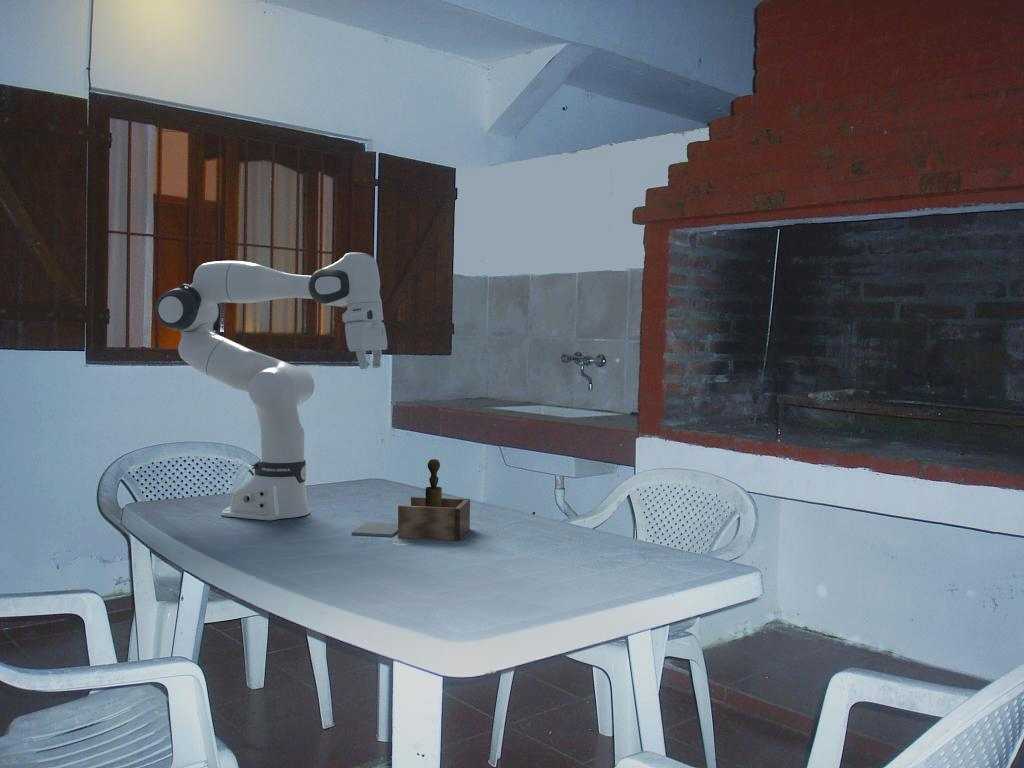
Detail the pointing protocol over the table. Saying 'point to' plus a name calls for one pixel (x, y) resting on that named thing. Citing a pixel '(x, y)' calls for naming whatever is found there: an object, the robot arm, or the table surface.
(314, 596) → the table surface
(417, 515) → the walnut bay
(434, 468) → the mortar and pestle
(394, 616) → the table surface
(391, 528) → the grey rubber mat
